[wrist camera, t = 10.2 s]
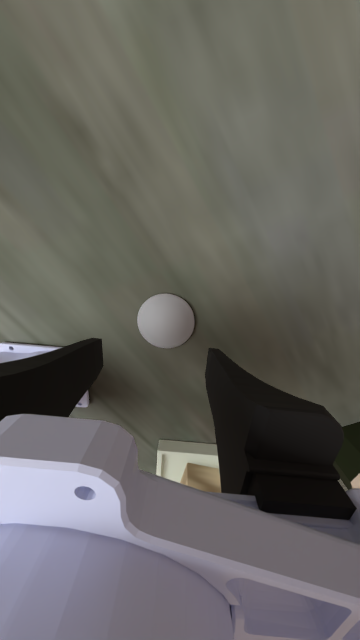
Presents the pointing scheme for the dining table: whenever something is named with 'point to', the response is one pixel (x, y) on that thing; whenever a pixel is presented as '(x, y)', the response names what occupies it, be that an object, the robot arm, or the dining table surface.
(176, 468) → the tray
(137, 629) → the robot arm
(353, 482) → the wine bottle
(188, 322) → the pad
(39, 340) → the dining table surface
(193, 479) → the block
